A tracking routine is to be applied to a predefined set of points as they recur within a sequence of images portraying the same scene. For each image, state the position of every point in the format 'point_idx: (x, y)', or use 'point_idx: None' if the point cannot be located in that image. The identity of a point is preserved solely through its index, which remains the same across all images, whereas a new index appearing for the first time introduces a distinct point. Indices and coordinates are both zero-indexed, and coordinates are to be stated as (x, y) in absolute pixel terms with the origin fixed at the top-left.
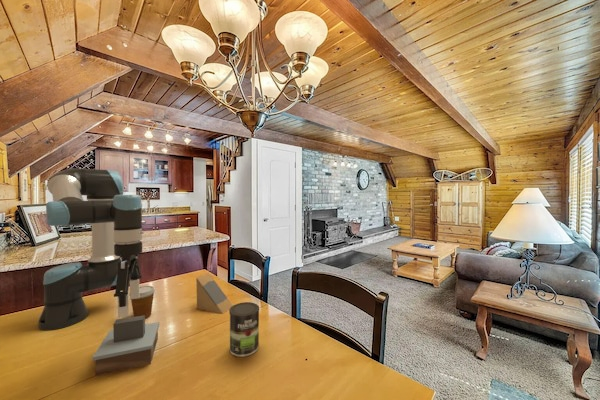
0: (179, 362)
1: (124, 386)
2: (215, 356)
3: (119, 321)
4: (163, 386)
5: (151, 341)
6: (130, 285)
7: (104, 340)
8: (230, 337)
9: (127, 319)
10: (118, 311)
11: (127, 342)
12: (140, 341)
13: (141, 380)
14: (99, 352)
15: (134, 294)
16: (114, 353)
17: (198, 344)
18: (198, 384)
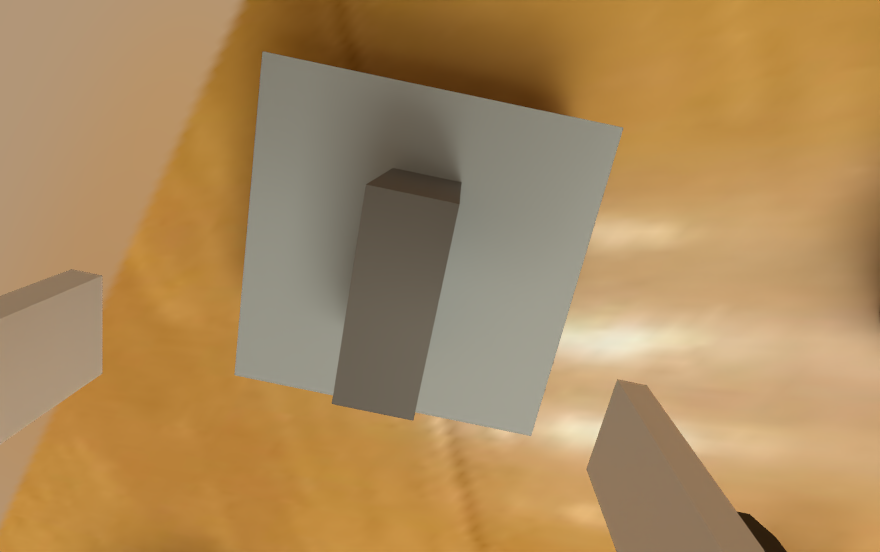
0: (263, 423)
1: (199, 210)
2: (233, 545)
3: (397, 232)
4: (130, 350)
5: (284, 375)
6: (705, 544)
7: (465, 103)
8: None
9: (403, 294)
10: (9, 300)
11: (348, 249)
12: (316, 320)
13: (209, 275)
14: (303, 89)
15: (618, 464)
16: (252, 180)
17: (364, 512)
18: (88, 457)
